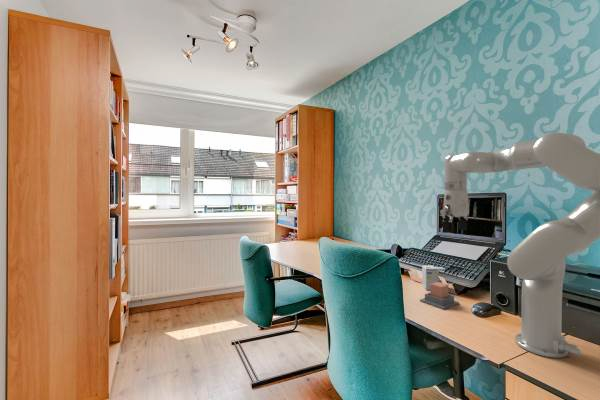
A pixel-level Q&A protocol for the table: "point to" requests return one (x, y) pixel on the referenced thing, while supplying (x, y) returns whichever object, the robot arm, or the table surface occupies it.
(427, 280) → the light bulb box
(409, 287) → the table surface
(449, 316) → the table surface
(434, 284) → the reddish brown block
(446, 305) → the grey flanged tray
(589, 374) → the table surface
